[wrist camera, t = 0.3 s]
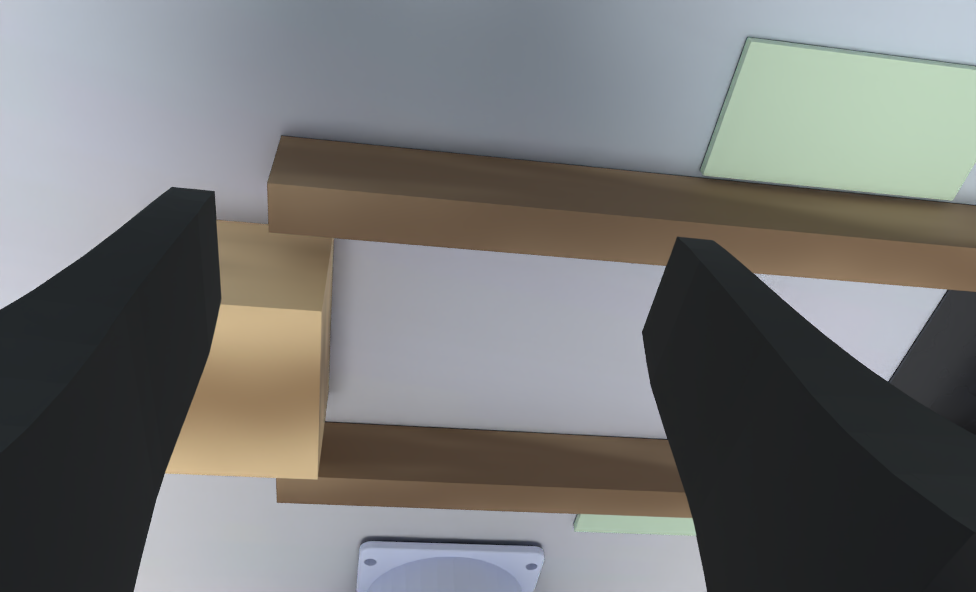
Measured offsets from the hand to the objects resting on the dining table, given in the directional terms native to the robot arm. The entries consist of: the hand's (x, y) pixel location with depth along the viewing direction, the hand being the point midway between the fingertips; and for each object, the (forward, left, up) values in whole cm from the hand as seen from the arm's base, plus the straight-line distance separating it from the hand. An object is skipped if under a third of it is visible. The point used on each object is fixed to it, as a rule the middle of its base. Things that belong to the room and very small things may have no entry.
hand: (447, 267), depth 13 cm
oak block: (-10, +5, -10) cm, 15 cm away
